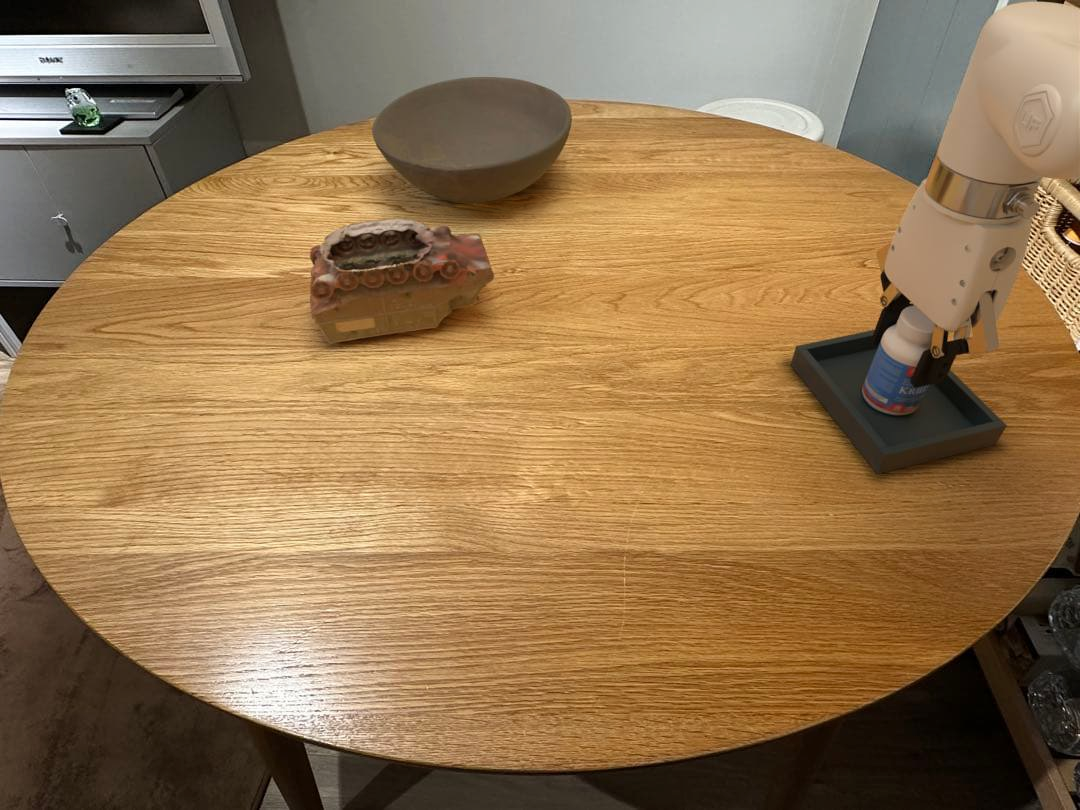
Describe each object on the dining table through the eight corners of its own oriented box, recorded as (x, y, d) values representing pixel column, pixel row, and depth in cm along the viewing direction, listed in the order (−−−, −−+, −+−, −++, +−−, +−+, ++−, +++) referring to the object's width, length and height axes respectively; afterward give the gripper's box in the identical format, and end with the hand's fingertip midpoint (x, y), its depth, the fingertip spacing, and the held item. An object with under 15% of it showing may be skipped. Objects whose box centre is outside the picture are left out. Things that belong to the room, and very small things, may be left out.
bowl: (593, 218, 101) (596, 146, 94) (391, 246, 97) (379, 172, 90) (546, 133, 120) (545, 67, 113) (375, 153, 115) (363, 86, 108)
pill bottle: (892, 425, 73) (927, 345, 66) (849, 391, 76) (878, 312, 69) (931, 404, 75) (969, 324, 68) (888, 372, 78) (920, 293, 71)
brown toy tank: (323, 281, 92) (305, 209, 85) (491, 270, 93) (486, 197, 86) (312, 353, 82) (291, 277, 76) (498, 338, 84) (494, 263, 77)
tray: (995, 444, 72) (1007, 425, 70) (877, 474, 69) (885, 455, 67) (896, 342, 82) (903, 323, 81) (790, 364, 80) (795, 345, 78)
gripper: (1107, 232, 54) (1003, 415, 67) (950, 130, 66) (886, 301, 79) (1017, 250, 53) (928, 433, 65) (873, 142, 65) (821, 315, 77)
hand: (906, 359), depth 72 cm, fingers closed on pill bottle, 5 cm apart
